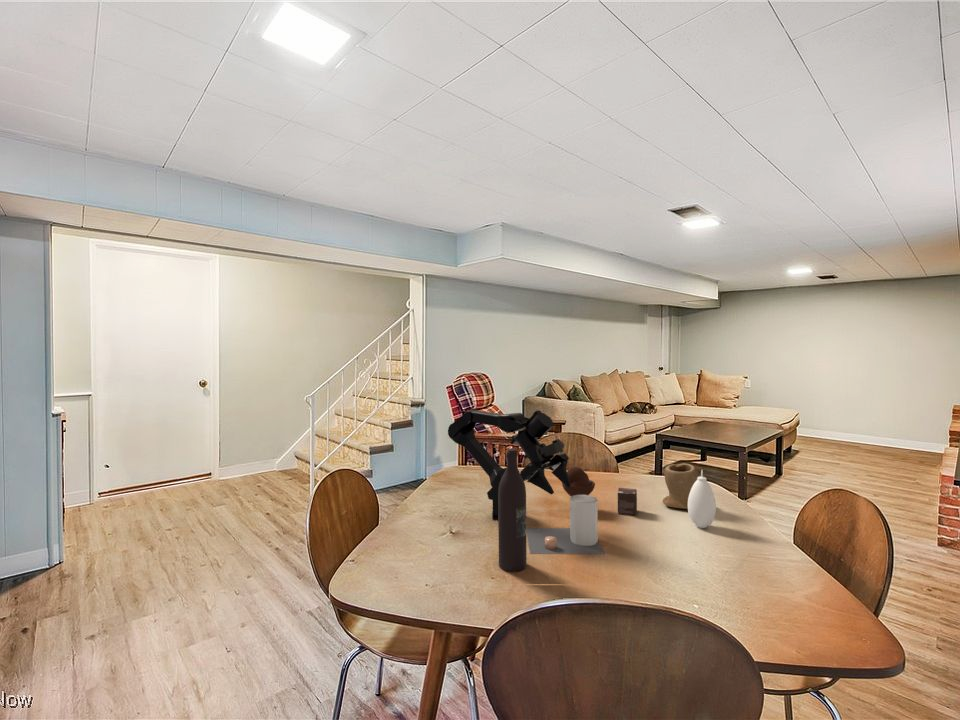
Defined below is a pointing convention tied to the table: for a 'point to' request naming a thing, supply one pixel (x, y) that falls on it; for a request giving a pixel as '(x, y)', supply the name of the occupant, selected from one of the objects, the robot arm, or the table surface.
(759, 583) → the table surface
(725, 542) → the table surface
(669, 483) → the stone cup
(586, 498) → the cover cup
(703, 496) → the white air blower bulb
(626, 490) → the box
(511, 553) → the wine bottle
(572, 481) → the ice cream bowl
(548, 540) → the pinkish tan round piece
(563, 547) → the mat
